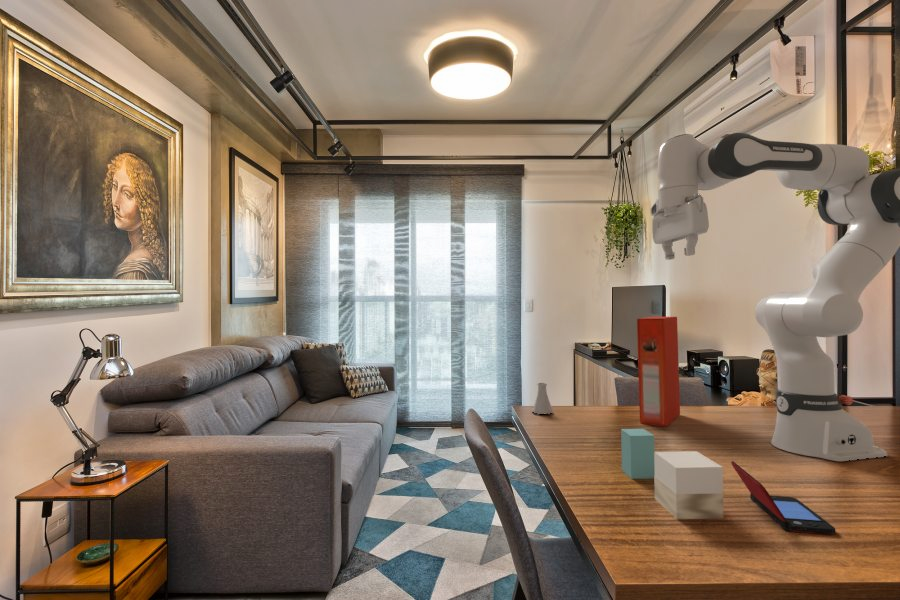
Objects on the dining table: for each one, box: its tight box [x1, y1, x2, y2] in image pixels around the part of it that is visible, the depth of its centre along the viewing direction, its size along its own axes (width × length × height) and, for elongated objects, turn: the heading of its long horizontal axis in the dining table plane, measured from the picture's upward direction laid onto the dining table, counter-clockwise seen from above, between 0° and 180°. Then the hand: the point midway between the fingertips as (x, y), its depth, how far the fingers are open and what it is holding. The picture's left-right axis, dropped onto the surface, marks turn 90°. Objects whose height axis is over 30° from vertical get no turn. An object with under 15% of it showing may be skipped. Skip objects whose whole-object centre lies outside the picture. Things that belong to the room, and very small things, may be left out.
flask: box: [531, 382, 554, 414], centre depth 150 cm, size 7×7×10 cm
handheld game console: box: [731, 460, 836, 535], centre depth 77 cm, size 12×11×7 cm
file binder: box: [636, 316, 681, 428], centre depth 140 cm, size 8×17×32 cm, turn 142°
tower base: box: [653, 476, 724, 520], centre depth 80 cm, size 8×8×4 cm
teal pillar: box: [620, 428, 655, 480], centre depth 96 cm, size 5×5×9 cm
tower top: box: [654, 450, 724, 494], centre depth 80 cm, size 8×8×4 cm
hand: (679, 257), depth 110 cm, fingers open, 8 cm apart
